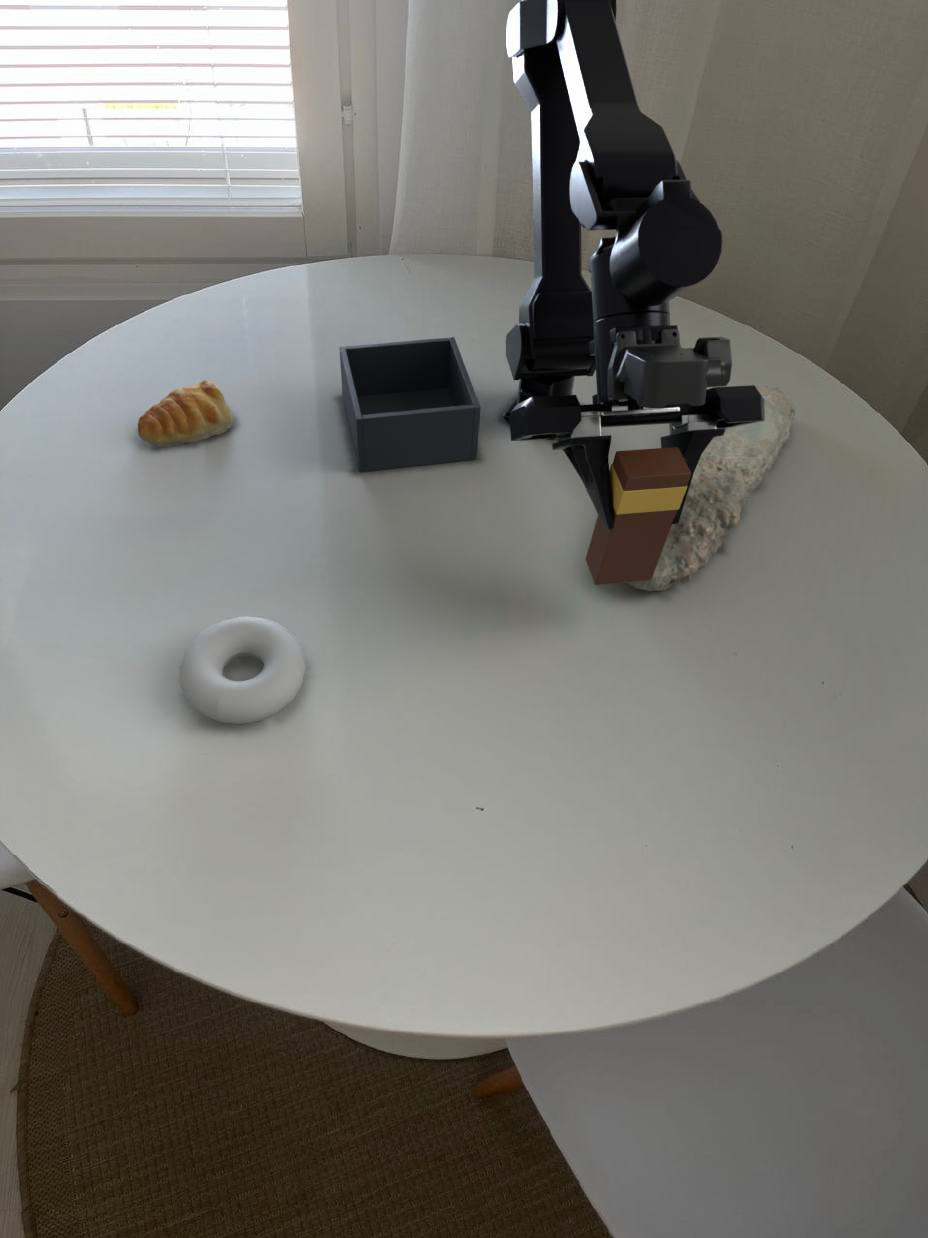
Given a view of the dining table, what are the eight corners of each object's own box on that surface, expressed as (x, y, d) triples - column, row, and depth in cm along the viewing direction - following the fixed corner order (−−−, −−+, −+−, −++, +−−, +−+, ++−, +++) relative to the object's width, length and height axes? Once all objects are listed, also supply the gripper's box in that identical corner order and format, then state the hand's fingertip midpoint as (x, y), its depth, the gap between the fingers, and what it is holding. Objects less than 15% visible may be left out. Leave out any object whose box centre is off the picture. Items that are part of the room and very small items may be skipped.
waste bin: (451, 388, 101) (454, 336, 96) (476, 459, 94) (480, 407, 89) (342, 398, 99) (339, 346, 94) (359, 472, 91) (356, 419, 86)
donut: (308, 632, 78) (189, 634, 77) (306, 606, 76) (183, 608, 74) (305, 730, 72) (175, 734, 71) (302, 706, 69) (167, 710, 68)
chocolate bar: (584, 558, 77) (614, 450, 68) (640, 553, 78) (678, 445, 69) (594, 586, 75) (627, 478, 66) (652, 580, 76) (692, 473, 67)
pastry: (158, 462, 91) (149, 431, 88) (128, 427, 94) (119, 397, 91) (240, 428, 95) (235, 397, 92) (209, 396, 98) (203, 365, 95)
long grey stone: (809, 433, 101) (725, 404, 105) (824, 391, 97) (736, 363, 101) (685, 618, 80) (585, 574, 84) (698, 575, 76) (593, 530, 80)
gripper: (542, 299, 59) (557, 538, 61) (802, 290, 63) (808, 517, 65) (502, 333, 70) (515, 535, 72) (725, 324, 73) (732, 517, 75)
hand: (641, 526), depth 71 cm, fingers closed on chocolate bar, 5 cm apart
